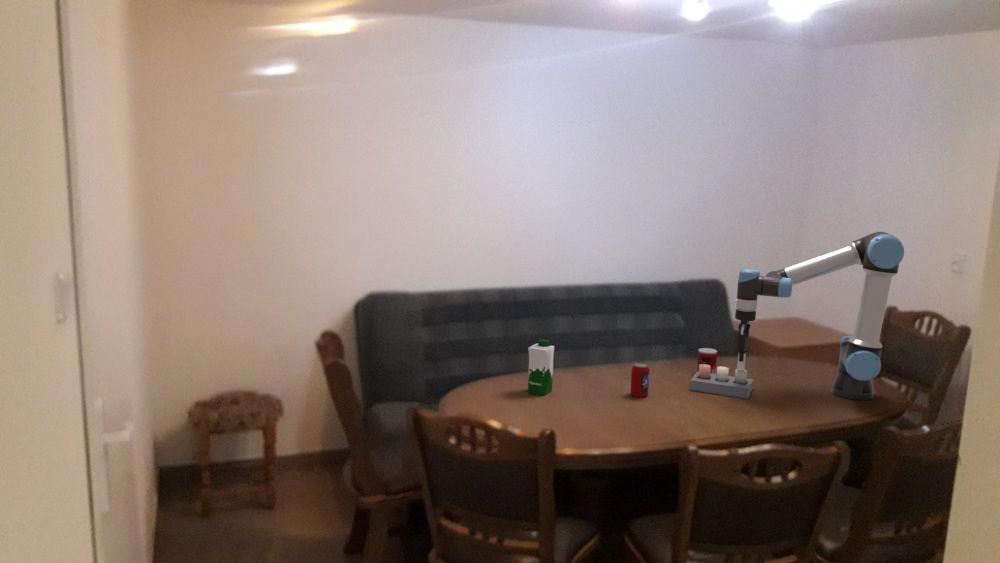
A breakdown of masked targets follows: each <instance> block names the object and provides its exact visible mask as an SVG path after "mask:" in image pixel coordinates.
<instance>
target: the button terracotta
mask: <svg viewBox="0 0 1000 563" xmlns="http://www.w3.org/2000/svg"><path fill="white" fill-rule="evenodd" d="M710 367H711V366H710V365H707V364H700V365H699V375H698V378H700V379H710Z"/></svg>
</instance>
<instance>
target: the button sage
mask: <svg viewBox="0 0 1000 563" xmlns="http://www.w3.org/2000/svg"><path fill="white" fill-rule="evenodd" d="M734 371H735V372H734V377H735V383H736V384H746V381H747V377H748V370H746V369H744V370H742V369H737V368H736V369H735V370H734Z"/></svg>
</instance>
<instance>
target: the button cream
mask: <svg viewBox="0 0 1000 563" xmlns="http://www.w3.org/2000/svg"><path fill="white" fill-rule="evenodd" d="M729 369H730V368H729V367H728V366H727V367H726V366H721V365H720V366H716V374H717V376H716V380H717V381H722V382H727V381H728V376H729V373H730V372H729Z"/></svg>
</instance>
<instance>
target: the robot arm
mask: <svg viewBox="0 0 1000 563" xmlns="http://www.w3.org/2000/svg"><path fill="white" fill-rule="evenodd" d="M904 256H905V248H904V245H903V243H902V241H901V240H900V239H899V238H898V237H897V236H894V235H892V234H890V233H888V232H884V231H876V232H872V233H870V234H867V235H865V236H862V237H860V238H858V239H856V240H853V241H851V242H850V243H849V245H847V246H844V247H841V248H837V249H836V250H832V251H830V252H826V253H824V254H821V255H818V256H815V257H813V258H810V259H806V260H804V261H801V262H798V263H795V264H793V265H790V266H787V267H784V268H781V269H778V270H773V271H772V270H771V271H769V272H767V273H766V274H765V276H764V275H761V274H760V271H759V270H758V269H751V268H745V269H741V270H739V273H738V278H737V279H738V280H737V290H736V293H737V294H736V299H735V300H734V303H736V306H735V307H736V309H735V315H734V318H735V319H736V320H737V321H740V323H738V341H737V342H738V343H737V350H736V352H735V353H737V363H736V369H742V370H746V368H745V366H746V357H747V353H749V350H748V343H749V342H748V341H749V335H750V328H751V323H750V322H754V321H756V317H757V311H756V310H757V307H758V306H757V305H758V296H761V297H762V296H763V297H774V298H781V299H782V298H790V297H791V296H792V292H793V287H794V286H795V285H799V284H802V283H803V282H807V281H810V280H813V279H816V278H819V277H822V276H825V275H828V274H830V273H833V272H837V271H839V270H843V269H846V268H849V267H851V266H854V265H859V266H862V270H863V271H864V272H865V277H864V283H863V287H862V291H861V297H860V302H859V308H858V312H857V318H856V322H855V328H854V333H853V335H845V336H842V337H841V340H840V343H839V344H840V347H839V348H840V349H839V356H838V357H839V358H838V369H837V374H836V376H835V379H833V380H834V381H833V382H832V385H831V391H830V392H831V394H833V395H834V396H837V397H840V398H845V399H848V400H857V401H864V400H865V401H868V400H871V399H873V398H874V397H875V396H874V394H875V390H874V387H873V386H874V385H873V383H872V379H874V378H876V377H877V376H878V375H879V374H880V371H881V369H882V363H881V362H882V361H881V355H882V351H883V344H882V343H881V342H880V338H881V337H880V336H881V332H882V327H883V322H884V318H885V312H886V307H887V303H888V298H889V292H890V288H891V282H892V278H893V277H895V276H896V275H898V272H899V267H900V264H901V262H902V261H903V259H904ZM749 323H750V324H749Z"/></svg>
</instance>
